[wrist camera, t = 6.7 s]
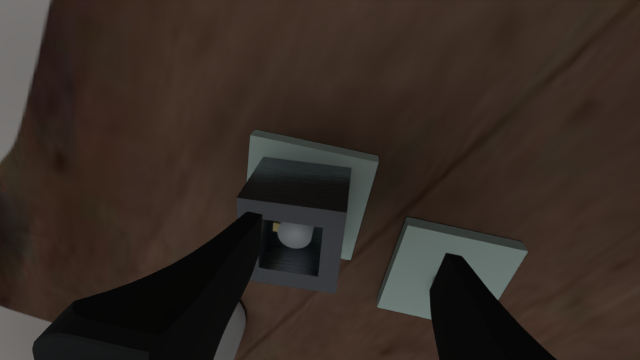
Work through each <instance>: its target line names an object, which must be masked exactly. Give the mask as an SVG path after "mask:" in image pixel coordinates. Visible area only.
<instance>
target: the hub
mask: <svg viewBox="0 0 640 360" xmlns="http://www.w3.org/2000/svg"><path fill="white" fill-rule="evenodd" d="M351 169H352V168H350V167H342V166H334V165H326V164H318V163H310V162H302V161H294V160H286V159H278V158H270V157H263V158H262V159H261V161H260V162H259V164H258V165H257V167H256V168H255V170H254V171H253V173H252V175H251V176H250V178H249V179H248V181H247V182H246V184H245V185H244V187H243V189H242V190H241V192H240V193H239V195H238V196H237V218H239V217H241V216H242V215H243V214H244V213H246V212H247V211H249V212H254V213H258V214H263V216H262V227H261V238H260V250H259V256H258V259H257V262H256V265H255V267H254V270H253V273H252V276H251V278H250V280H249V281H255V282H262V283H268V284H275V285H281V286H288V287H295V288H301V289H308V290H314V291H321V292H327V293H334V294H336V289H337V281H338V274H339V267H340V260H341V253H342V245H343V238H344V231H345V224H346V216H347V208H348V198H349V189H350V179H351ZM274 221H279V222H286V223H293V224H301V225H308V226H314V230H313V234H312V238H311V241H310V243H309V244H308V245H307V246H305V247H303V248H298V249H296V248H290V247H288V246H286V245H284V244H283V243H282V242H281V241H280V239H279V237H278V232H275V231H272V230H273V223H274Z"/></svg>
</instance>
